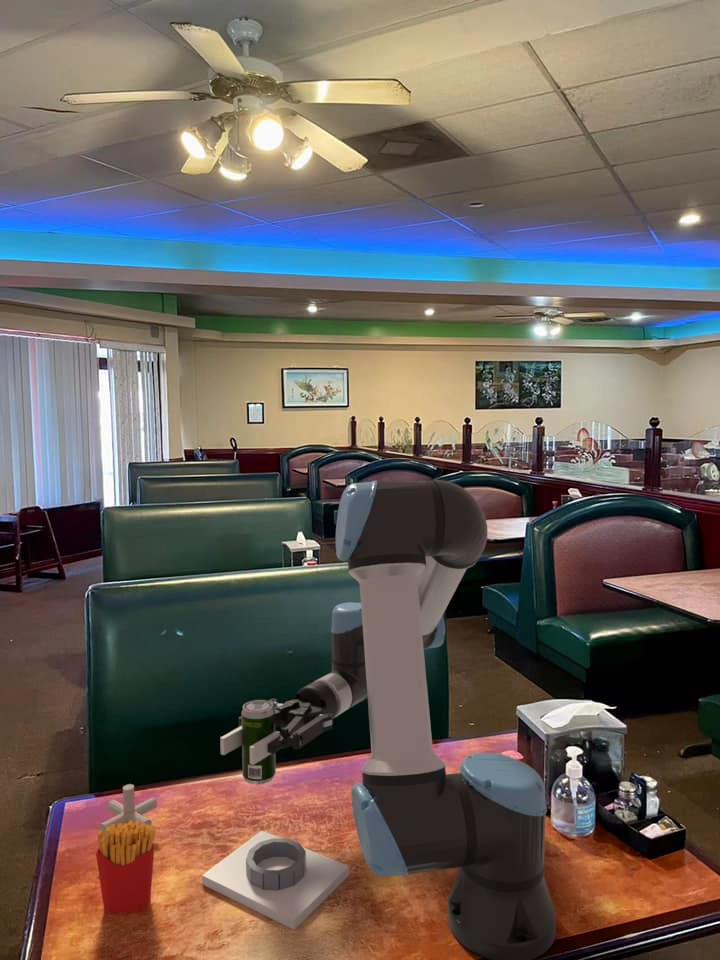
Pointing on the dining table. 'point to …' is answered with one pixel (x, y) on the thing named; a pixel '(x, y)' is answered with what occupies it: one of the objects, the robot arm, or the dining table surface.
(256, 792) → the dining table surface
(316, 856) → the holder
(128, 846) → the french fries
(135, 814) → the pipe connector
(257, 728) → the beer can
